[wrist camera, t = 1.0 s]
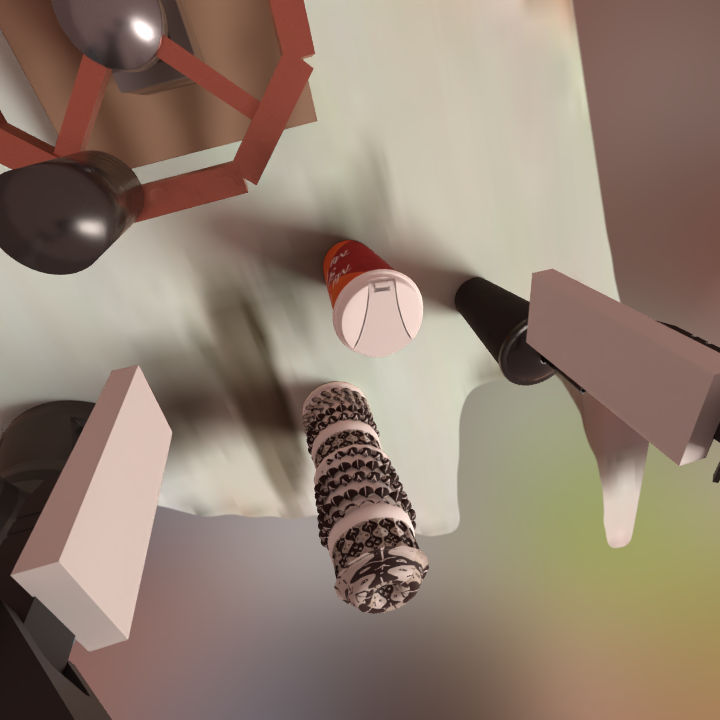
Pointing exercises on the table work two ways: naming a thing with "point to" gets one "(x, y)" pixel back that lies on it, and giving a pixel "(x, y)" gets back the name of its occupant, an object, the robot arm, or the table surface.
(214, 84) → the handwheel
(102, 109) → the brown block
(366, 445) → the decorative candle
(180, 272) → the table surface
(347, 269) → the paper cup
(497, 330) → the drinking cup
